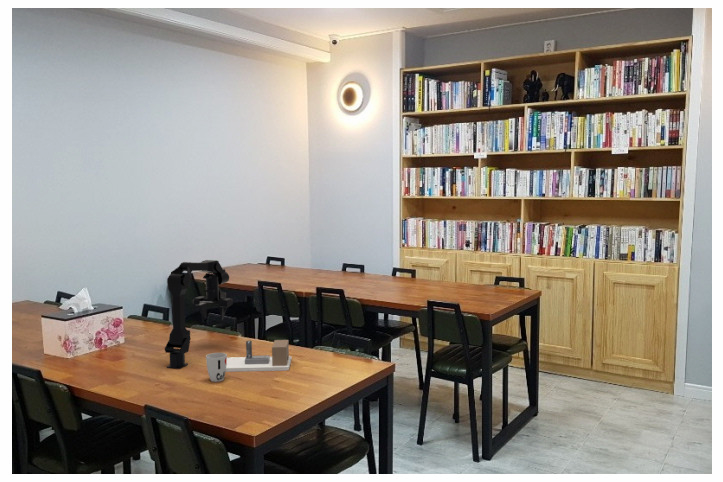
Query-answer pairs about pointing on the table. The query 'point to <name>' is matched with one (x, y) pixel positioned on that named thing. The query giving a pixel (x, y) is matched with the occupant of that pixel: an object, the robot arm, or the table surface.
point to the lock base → (263, 360)
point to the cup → (216, 366)
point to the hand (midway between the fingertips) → (213, 319)
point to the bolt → (249, 352)
